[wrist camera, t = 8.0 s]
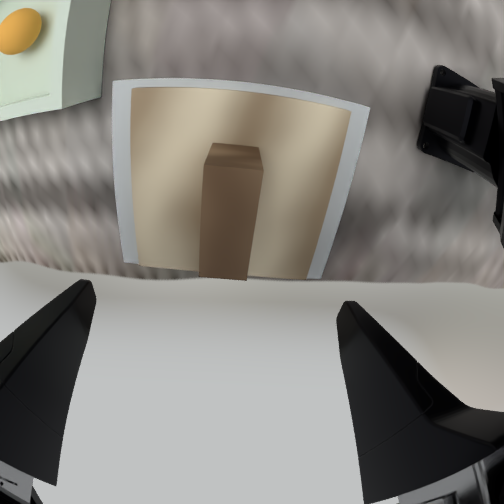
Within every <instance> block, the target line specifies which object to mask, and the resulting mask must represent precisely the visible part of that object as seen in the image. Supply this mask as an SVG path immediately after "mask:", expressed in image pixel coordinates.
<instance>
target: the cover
mask: <svg viewBox="0 0 504 504" xmlns="http://www.w3.org/2000/svg"><path fill="white" fill-rule="evenodd" d="M350 116H351V111H349V110H346V109H342V108H338V107H334V106H330V105H326V104H321V103H316V102H312V101H307V100H301V99H296V98H290V97H284V96H278V95H271V94H264V93H257V92H248V91H239V90H228V89H216V88H197V87H138V88H132V90H131V116H130V155H131V183H132V199H133V213H134V224H135V234H136V243H137V252H138V260H139V266H146V267H156V268H166V269H176V270H187V271H198V272H199V277H208V278H220V279H232V280H245V281H247V276H258V277H271V278H285V279H299V280H306V278H307V275H308V272H309V269H310V266H311V262H312V259H313V256H314V253H315V249H316V246H317V243H318V239H319V236H320V233H321V229H322V226H323V222H324V219H325V215H326V212H327V208H328V205H329V201H330V197H331V194H332V190H333V186H334V182H335V179H336V175H337V171H338V167H339V163H340V159H341V155H342V151H343V146H344V142H345V138H346V134H347V129H348V125H349V120H350Z"/></svg>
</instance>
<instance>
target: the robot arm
mask: <svg viewBox="0 0 504 504" xmlns="http://www.w3.org/2000/svg"><path fill="white" fill-rule="evenodd" d="M441 70H442V73H443V74H442V75H441V73H440V71H441ZM492 85H493V88H494V89H495V93H494V92H491V91H488V90H484V89H480V88H479V87H477V86H476V85H474V84H473V83H471V82H470V81H468V80H467V79H465V78H464V77H462V76H460V75H459V74H457V73H455V72H454V71H452V70H450V69H448V68H447V67H445V66H442V65H437V66H436V67H435V69H434V74H433V79H432V85H431V88H430V92H429V97H428V101H427V106H426V110H425V114H424V118H423V124H422V128H421V132H420V136H419V139H418V144H417V146H418V149H419V150H420V151H422V152H424V153H426V154H429V155H432V156H435V157H437V158H440V159H443V160H445V161H448V162H450V163H453V164H455V165H458V166H460V167H462V168H465V169H467V170H469V171H472V172H476V173H477V174H479V175H480V176H481V177H483V178H484V179H486V180H487V181H489V182H490V183H492V184H493V185H494V186H496V187H497V188H498V189H497V201H496V210H495V212H494V215H493V222H494V224H495V226H496V228H497V229H498V231H499V233H500V239H501V243H502V246H503V248H504V78H492ZM424 143H426V146H425V147H424V148H423V145H424ZM95 305H96V295H95V292H94V289H93V285H92V282H91V281H90V280H84V279H80V280H79V281H77V282H76V283H74V284H73V285H72V286H70V287H69V288H68V289H66V290H65V291H64V292H62V293H61V294H60V295H58V296H57V297H56V298H54V299H53V300H52V301H50V302H49V303H48V304H46V305H45V306H44V307H43V308H41V309H40V310H39V311H38V312H36V313H35V314H34V315H33V316H31V317H30V318H29V319H28V320H27V321H25V322H24V323H23V324H21V325H20V326H19V327H18V328H17V329H15V331H14V332H12V333H11V334H9V335H8V336H7V337H6V338H5V339H4V340H2V341H1V342H0V504H43V503H42V501H41V500H40V498H39V496H38V495H37V493H36V491H35V489H34V488H33V486H32V484H33V478H37V479H39V480H42V481H44V482H46V483H49V484H51V485H54V486H56V484H57V477H58V468H59V461H60V454H61V447H62V441H63V435H64V429H65V424H66V419H67V414H68V410H69V405H70V401H71V397H72V393H73V389H74V385H75V381H76V378H77V374H78V370H79V367H80V363H81V360H82V357H83V353H84V350H85V347H86V344H87V340H88V336H89V332H90V327H91V323H92V318H93V314H94V310H95ZM336 321H337V331H338V341H339V349H340V359H341V364H342V369H343V374H344V378H345V384H346V389H347V394H348V399H349V404H350V409H351V415H352V420H353V427H354V433H355V439H356V446H357V452H358V457H359V458H358V460H359V466H360V475H361V482H362V491H363V500H364V504H371V503H375V502H378V501H382V500H386V499H389V498H392V497H396V496H398V499H399V503H398V504H504V412H498V411H490V410H483V409H476V408H472V407H469V406H467V405H465V404H464V403H463V402H461V401H460V400H459V399H458V398H457V397H455V396H454V395H453V394H452V393H451V392H450V391H449V390H447V389H446V388H445V387H444V386H443V385H442V384H440V383H439V382H438V381H437V380H436V379H435V378H434V377H433V376H432V375H431V374H430V373H429V372H427V370H426V369H424V368H423V366H422V365H420V363H418V362H417V361H416V360H415V359H414V358H413V357H412V356H411V355H410V354H409V353H408V352H407V351H406V350H405V349H404V348H403V347H402V346H401V345H400V344H399V343H398V342H397V341H396V340H395V339H394V338H393V337H392V336H391V335H390V334H389V333H388V332H387V331H386V330H385V329H384V328H383V327H382V326H381V325H380V324H379V323H378V322H377V321H376V320H375V319H374V318H373V317H372V316H370V315H369V314H368V313H367V312H366V311H365V310H364V309H363V308H362V307H361V306H360V305H359V304H358V303H357V302H355V301H345V302H344V303H343V305H342V307H341V309H340V312H339V313H338V316H337V320H336Z"/></svg>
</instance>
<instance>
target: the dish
mask: <svg viewBox="0 0 504 504" xmlns="http://www.w3.org/2000/svg"><path fill="white" fill-rule="evenodd" d="M110 4H111V0H0V24H1V23H2V21H3V20H4V19H5V18H6V17H7V16H8V15H9V14H11V13H12V12H14V11H16V10H18V9H22V8H32V9H34V10H36V11H37V12H38V13H39V14H40V17H41V21H42V25H41V30H40V33H39V35H38V37H37V39H36V40H35V41H34V43H33V44H32V45H31V46H30V47H29V48H27V49H26V50H24V51H23V52H21V53H18V54H15V55H6V54H3V53H2V52H0V121H3V120H7V119H11V118H15V117H20V116H25V115H29V114H34V113H40V112H45V111H51V110H58V109H63V108H66V107H69V106H72V105H76V104H79V103H82V102H86V101H89V100H93V99H96V98H100V97H101V93H102V71H103V58H104V47H105V38H106V30H107V22H108V16H109V10H110Z"/></svg>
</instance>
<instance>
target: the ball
mask: <svg viewBox="0 0 504 504" xmlns="http://www.w3.org/2000/svg"><path fill="white" fill-rule="evenodd" d="M41 25H42V21H41V17H40V14H39V13H38V12H37V11H36V10H34V9H32V8H22V9H18V10H16V11H14V12H12V13H11V14H9V15H8V16H7V17H6V18H5V19H4V20H3V21H2V23H1V24H0V52H2V53H3V54H6V55H15V54H18V53H21V52H23V51H24V50H26V49H27V48H29V47H30V46H31V45H32V44H33V43H34V41H35V40H36V39H37V37H38V35H39V33H40V30H41Z"/></svg>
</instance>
